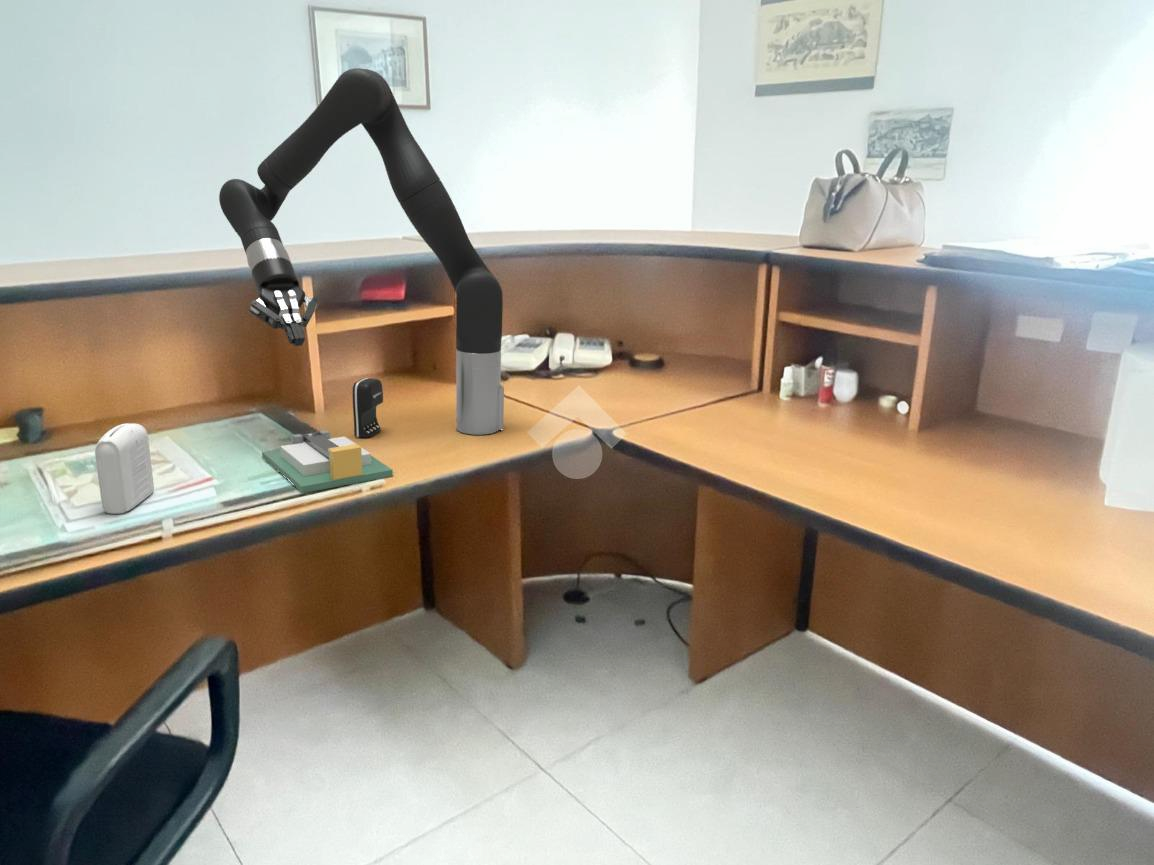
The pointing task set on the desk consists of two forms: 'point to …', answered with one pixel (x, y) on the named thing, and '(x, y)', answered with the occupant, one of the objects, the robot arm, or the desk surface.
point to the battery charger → (366, 406)
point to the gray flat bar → (319, 442)
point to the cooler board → (324, 477)
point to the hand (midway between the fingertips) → (299, 343)
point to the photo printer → (124, 468)
